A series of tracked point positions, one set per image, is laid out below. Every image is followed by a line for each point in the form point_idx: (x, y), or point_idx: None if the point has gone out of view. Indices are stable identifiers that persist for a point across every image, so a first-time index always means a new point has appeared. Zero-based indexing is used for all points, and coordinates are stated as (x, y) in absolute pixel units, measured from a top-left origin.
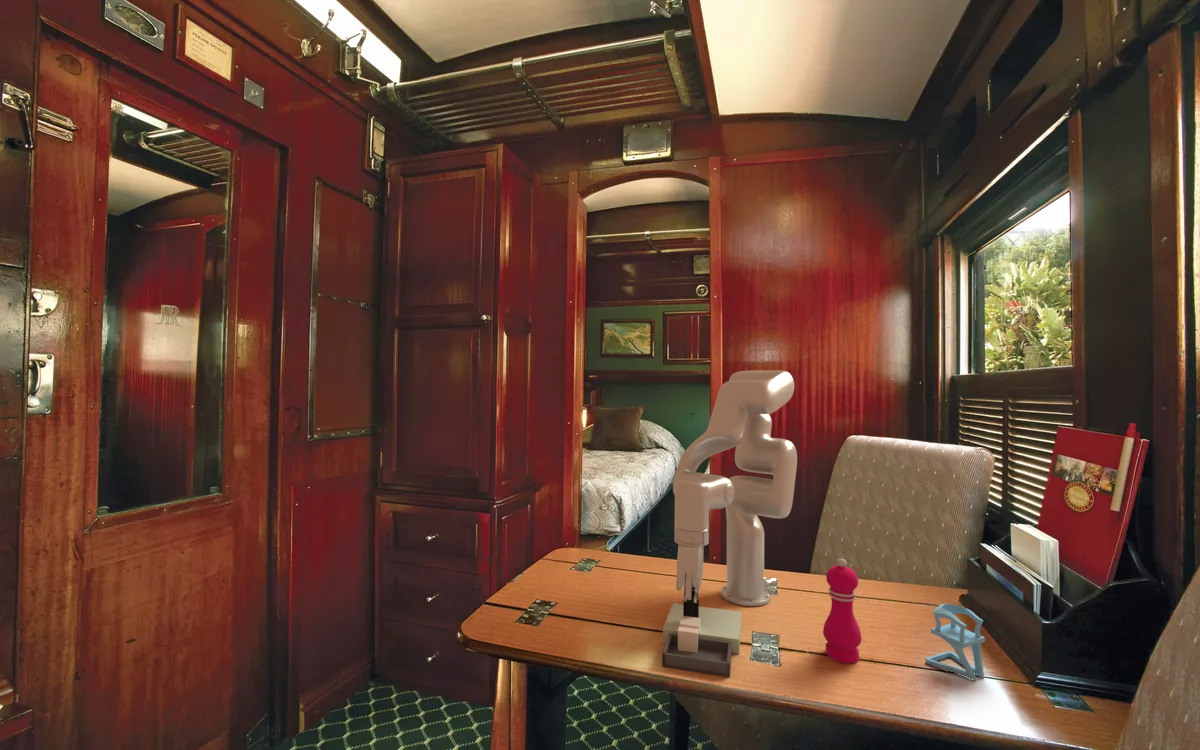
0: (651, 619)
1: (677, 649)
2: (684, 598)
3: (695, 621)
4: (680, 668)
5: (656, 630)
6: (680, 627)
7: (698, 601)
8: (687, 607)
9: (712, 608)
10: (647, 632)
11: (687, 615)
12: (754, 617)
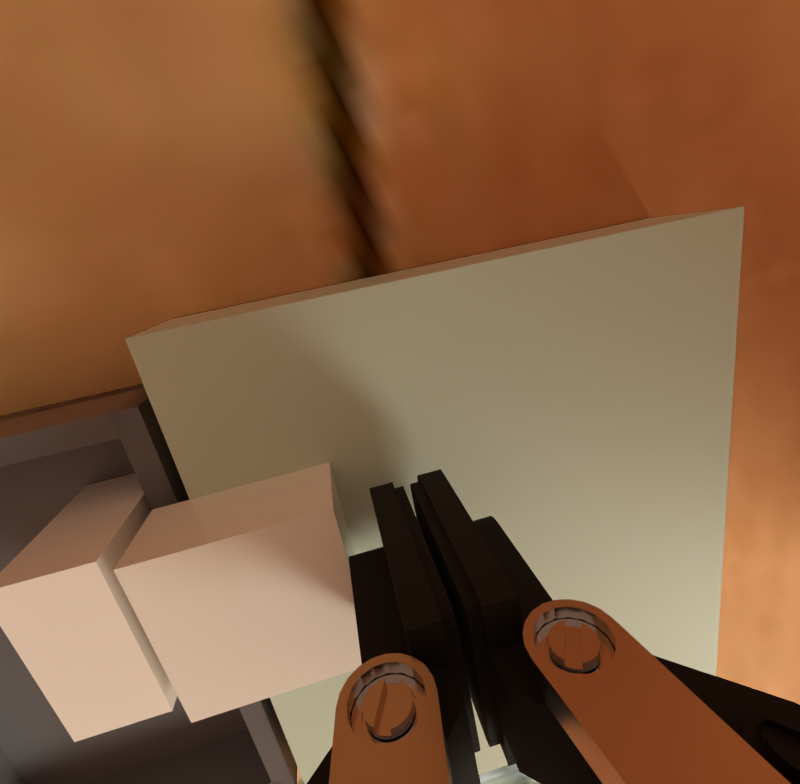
0: (531, 57)
1: (93, 480)
2: (336, 754)
3: (276, 661)
4: None
5: (353, 184)
6: (81, 581)
7: (504, 751)
8: (359, 637)
9: (719, 538)
10: (274, 116)
11: (351, 563)
12: (751, 638)
